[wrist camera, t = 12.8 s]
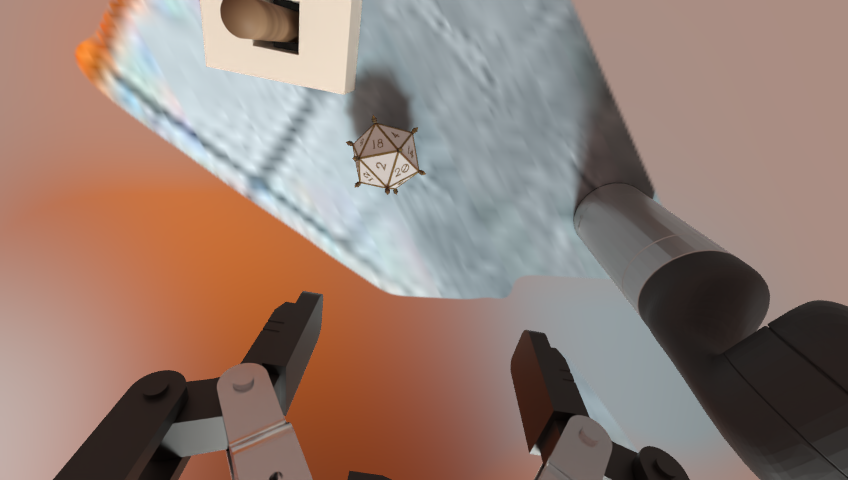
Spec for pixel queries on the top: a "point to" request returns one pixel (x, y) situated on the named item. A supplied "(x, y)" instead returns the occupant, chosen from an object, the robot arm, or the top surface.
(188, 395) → the robot arm
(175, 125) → the top surface
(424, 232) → the top surface
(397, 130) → the game die
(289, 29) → the peg
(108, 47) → the top surface
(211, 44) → the hole block
